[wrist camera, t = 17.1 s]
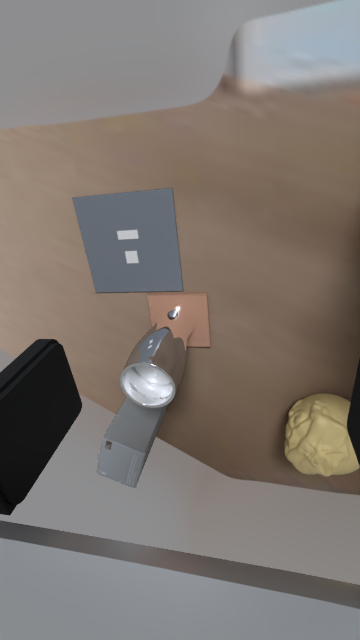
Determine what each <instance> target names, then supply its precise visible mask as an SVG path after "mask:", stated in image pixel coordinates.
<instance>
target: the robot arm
mask: <svg viewBox="0 0 360 640" xmlns="http://www.w3.org/2000/svg"><path fill="white" fill-rule="evenodd" d="M81 408H82V402H81V399H80V396H79V393H78V390H77V387H76V384H75V381H74V378H73V375H72V372H71V369H70V366H69V363H68V360H67V357H66V354H65V351H64V348H63V346H62V345H61V344H59V343H58V341H57V340H55V339H38V340H36V341H35V342H34V343H33V344H32V345H31V346H29V347H28V348H27V349H26V350H25V351H24V352H23V353H22V354H20V355H19V356H18V357H17V358H16V359H15V360H14V361H13V362H12V363H10V365H8V366H7V367H6V368H5V369H4V370H3V371H1V372H0V514H4V515H10V514H11V513H12V511H13V510H14V509H15V507H16V505H17V504H19V503H21V502H22V501H23V500H24V499H25V497H26V496H27V494H28V492H29V491H30V489H31V488H32V486H33V485H34V483H35V481H36V480H37V479H38V477H39V475H40V474H41V472H42V471H43V469H44V468H45V466H46V465H47V463H48V461H49V460H50V458H51V457H52V455H53V454H54V452H55V451H56V449H57V447H58V446H59V444H60V443H61V441H62V440H63V438H64V437H65V435H66V434H67V432H68V430H69V429H70V427H71V426H72V424H73V423H74V421H75V420H76V418H77V417H78V415H79V413H80V411H81ZM347 430H348V434H349V437H350V440H351V443H352V446H353V449H354V452H355V454H356V457H357V460H358V463H359V466H360V360H359V365H358V369H357V374H356V379H355V384H354V389H353V394H352V398H351V403H350V408H349V413H348V418H347ZM0 640H360V585H357V584H352V583H347V582H341V581H337V580H332V579H326V578H321V577H316V576H311V575H306V574H301V573H296V572H290V571H284V570H279V569H273V568H267V567H262V566H257V565H251V564H246V563H240V562H234V561H229V560H223V559H218V558H212V557H207V556H201V555H195V554H190V553H184V552H179V551H173V550H168V549H162V548H156V547H151V546H145V545H139V544H133V543H127V542H122V541H116V540H110V539H104V538H99V537H93V536H88V535H82V534H76V533H70V532H65V531H59V530H53V529H47V528H41V527H35V526H29V525H23V524H17V523H11V522H5V521H0Z"/></svg>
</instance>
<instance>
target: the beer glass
mask: <svg viewBox="0 0 360 640" xmlns="http://www.w3.org/2000/svg"><path fill="white" fill-rule="evenodd" d="M193 329H194V320H193V317H192V315H191V314H190V313H189V312H188V311H187V310H186V309H185V308H183V307H181V306H177V305H169V306H165V307H163V308H162V309H161V310H160V311H159V312H158V313H157V316H156V319H155V325H154V326H153V327H152V328H151V329H150V330H149V331H148V332H147V333H146V334H145V335H144V336H143V337H142V338H141V339H140V341H139V342H138V343H137V344H136V346H135V347H134V349H133V350H132V352H131V354H130V356H129V358H128V360H127V362H126V365H125V367H124V370H123V371H122V373H121V376H120V385H121V388H122V390H123V392H124V393H125V395H126V396H127V397H128V398H129V399H130V400H132V401H133V402H135V403H137V404H139V405H141V406H144V407H149V408H158V407H163V406H165V405H167V404H169V403H170V402H171V401H172V400H173V398H174V396H175V393H176V390H177V388H178V386H179V383H180V381H181V378H182V375H183V373H184V369H185V364H186V351H187V339H188V337H189V336H190V334H191V333H192V331H193Z"/></svg>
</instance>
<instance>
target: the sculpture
mask: <svg viewBox="0 0 360 640" xmlns="http://www.w3.org/2000/svg"><path fill="white" fill-rule="evenodd" d="M350 403H351V402H350V401H348V400H347V399H345V398H343V397H340V396H338V395H334V394H329V393H318V394H313V395H310V396H307V397H305V398H304V399H301V400H298V401H297V402H296V403H295V404H294V405H293V407H292V408H291V409H290V411H289V413H288V415H289V420H288V423H287V426H286V431H285V436H286V440H285V443H284V445H285V456H286V458H287V459H288V460H289V461H290V462H291V463H292V464H293V465H294V467H295V468H296V469H297V470H299V471H300V472H301V473H304V474H320V475H323V476H326V477H329V476H330V475H343V474H348V473H351V472H353V471H355V470H357V469H359V468H360V466H359V463H358V460H357V457H356V454H355V452H354V449H353V446H352V443H351V440H350V437H349V434H348V430H347V418H348V413H349V408H350Z"/></svg>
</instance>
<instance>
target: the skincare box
mask: <svg viewBox="0 0 360 640" xmlns="http://www.w3.org/2000/svg"><path fill="white" fill-rule="evenodd" d="M167 406H168V404H167V405H165V406H163V407H158V408H149V407H144V406H141V405H139V404H137V403H135V402H133V401H132V400H130V399H129V398H128V397H126V399H125V401H124V402H123V404H122V406H121V408H120V409H119V411H118V413H117V414H116V416H115V418H114V420H113V421H112V423H111V425H110V426H109V428H108V430H107V431H106V433H105V435H104V437H103V440H102V445H101V452H100V454H99V455H98V460H99V462H98V468H97V473H98V474H100V475H102V476H105V477H107V478H110V479H112V480H115V481H118V482H120V483H122V484H125V485H127V486H130V487H133V488H135V487H136V485H137V482H138V480H139V477H140V475H141V472H142V469H143V467H144V464H145V462H146V459H147V457H148V454H149V452H150V449H151V447H152V444H153V442H154V439H155V437H156V434H157V432H158V430H159V427H160V425H161V422H162V420H163V417H164V415H165V412H166V409H167Z"/></svg>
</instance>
